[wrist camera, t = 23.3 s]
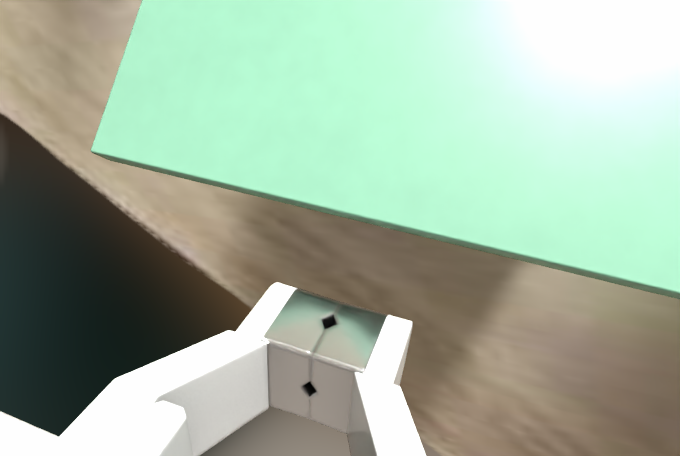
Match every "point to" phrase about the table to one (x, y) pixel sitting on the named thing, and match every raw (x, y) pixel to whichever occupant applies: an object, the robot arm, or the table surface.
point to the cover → (425, 119)
